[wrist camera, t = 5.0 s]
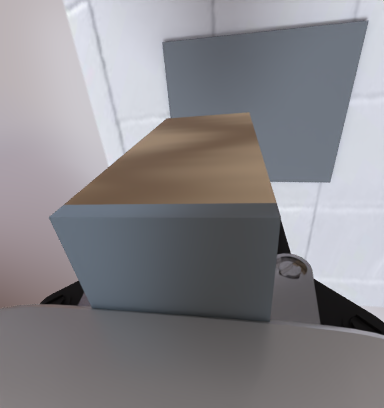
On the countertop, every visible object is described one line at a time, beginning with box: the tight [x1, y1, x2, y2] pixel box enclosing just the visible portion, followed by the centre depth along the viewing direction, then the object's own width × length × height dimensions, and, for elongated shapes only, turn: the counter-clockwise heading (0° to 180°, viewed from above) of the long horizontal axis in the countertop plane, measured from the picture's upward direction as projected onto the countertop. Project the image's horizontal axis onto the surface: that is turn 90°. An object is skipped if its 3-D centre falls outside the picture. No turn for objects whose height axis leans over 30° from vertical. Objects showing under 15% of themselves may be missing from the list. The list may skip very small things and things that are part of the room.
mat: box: [162, 21, 368, 182], centre depth 24 cm, size 17×14×1 cm
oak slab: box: [49, 112, 281, 322], centre depth 9 cm, size 4×10×8 cm, turn 6°
